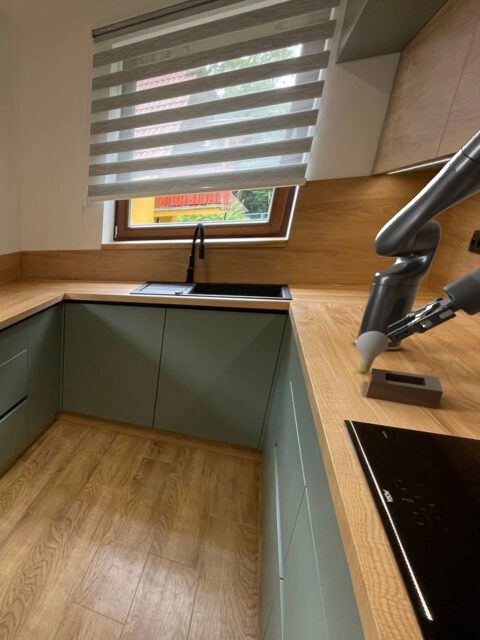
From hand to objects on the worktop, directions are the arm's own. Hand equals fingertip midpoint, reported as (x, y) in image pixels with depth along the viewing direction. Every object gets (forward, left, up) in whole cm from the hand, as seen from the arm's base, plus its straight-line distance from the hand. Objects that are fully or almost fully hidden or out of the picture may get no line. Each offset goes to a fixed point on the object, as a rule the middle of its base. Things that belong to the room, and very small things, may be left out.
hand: (389, 335), depth 96 cm
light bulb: (0, -3, -10) cm, 10 cm away
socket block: (+13, +3, -9) cm, 16 cm away
